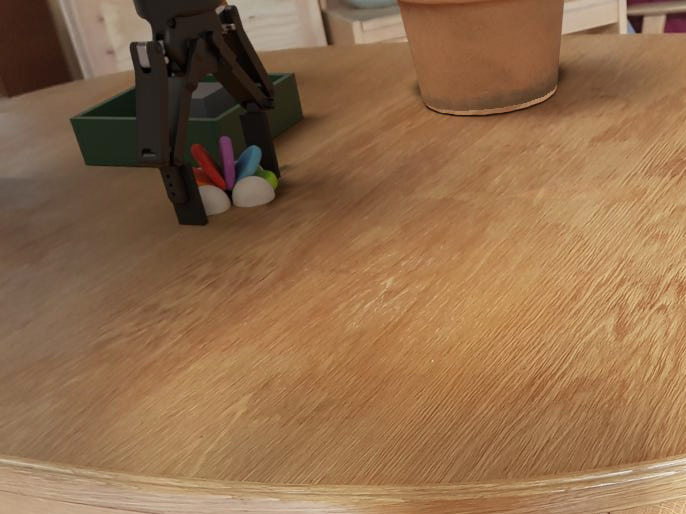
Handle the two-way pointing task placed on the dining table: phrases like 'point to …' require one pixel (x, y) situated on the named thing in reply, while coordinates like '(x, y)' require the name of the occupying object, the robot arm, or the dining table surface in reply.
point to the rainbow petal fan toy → (232, 178)
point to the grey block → (210, 100)
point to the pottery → (483, 50)
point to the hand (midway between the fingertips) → (234, 204)
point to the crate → (121, 137)
